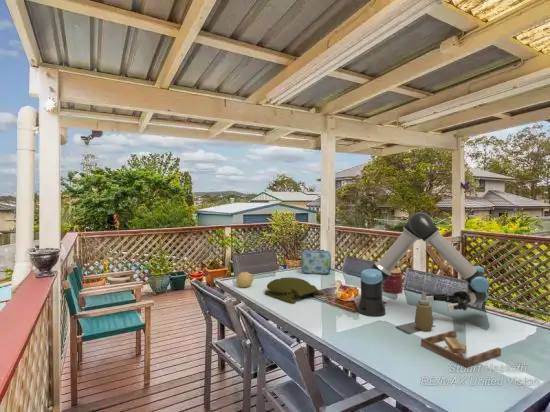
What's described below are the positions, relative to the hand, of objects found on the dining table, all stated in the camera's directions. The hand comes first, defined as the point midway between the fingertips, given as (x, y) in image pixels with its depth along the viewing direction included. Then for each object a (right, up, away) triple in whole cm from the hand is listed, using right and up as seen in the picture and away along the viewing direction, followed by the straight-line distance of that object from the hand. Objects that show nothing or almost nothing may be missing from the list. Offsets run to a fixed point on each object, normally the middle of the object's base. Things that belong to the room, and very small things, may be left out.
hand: (435, 304), depth 158 cm
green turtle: (-68, -12, +61) cm, 93 cm away
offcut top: (-6, -10, -27) cm, 29 cm away
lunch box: (-44, -11, +121) cm, 129 cm away
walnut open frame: (-3, -13, -25) cm, 28 cm away
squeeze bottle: (-7, -12, -3) cm, 14 cm away
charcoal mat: (-7, -12, -3) cm, 15 cm away
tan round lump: (-102, -12, +80) cm, 130 cm away
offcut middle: (-6, -12, -27) cm, 30 cm away
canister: (+3, -11, +65) cm, 66 cm away
